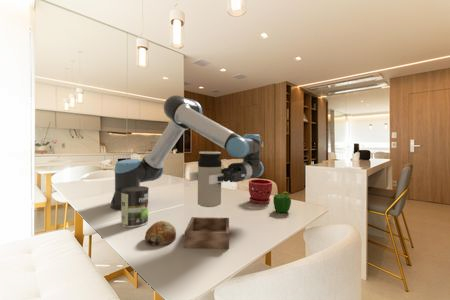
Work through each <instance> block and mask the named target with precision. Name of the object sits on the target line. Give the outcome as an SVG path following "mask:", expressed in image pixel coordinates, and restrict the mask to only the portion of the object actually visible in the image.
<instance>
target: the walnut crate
mask: <svg viewBox="0 0 450 300" xmlns="http://www.w3.org/2000/svg"><path fill="white" fill-rule="evenodd" d="M183 241H184V246H183V247H184V249H213V250H214V249H215V250H216V249H221V250H229V249H230V218H229V217H208V216H205V217H204V216H203V217H202V216H201V217H200V216H191V218H190V219H189V222H188V224H187V226H186V228H185V230H184V240H183Z"/></svg>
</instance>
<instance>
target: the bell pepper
mask: <svg viewBox="0 0 450 300" xmlns="http://www.w3.org/2000/svg"><path fill="white" fill-rule="evenodd" d="M288 193H289V192H288V191H283V192H282V193H281V194H274V196H273V207H274V210H275V212H276V213H280V214H282V213H283V214H284V213H288V212H289V210H290V209H291V206H292V205H291V204H292V198H291V196H290V195H287V194H288Z"/></svg>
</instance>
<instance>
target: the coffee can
mask: <svg viewBox="0 0 450 300" xmlns="http://www.w3.org/2000/svg"><path fill="white" fill-rule="evenodd" d="M121 192H122V193H121V209H120V210H121V212H120V213H121V216H120V219H121V221H120V222H121V223H120V225H121V227H123V228H129V229H130V228H140V227H143V226H145V225H147V224H148V223H149V187H148V186H143V185H142V186H141V185H140V186H133V187H126V188H123V189H121Z"/></svg>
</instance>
